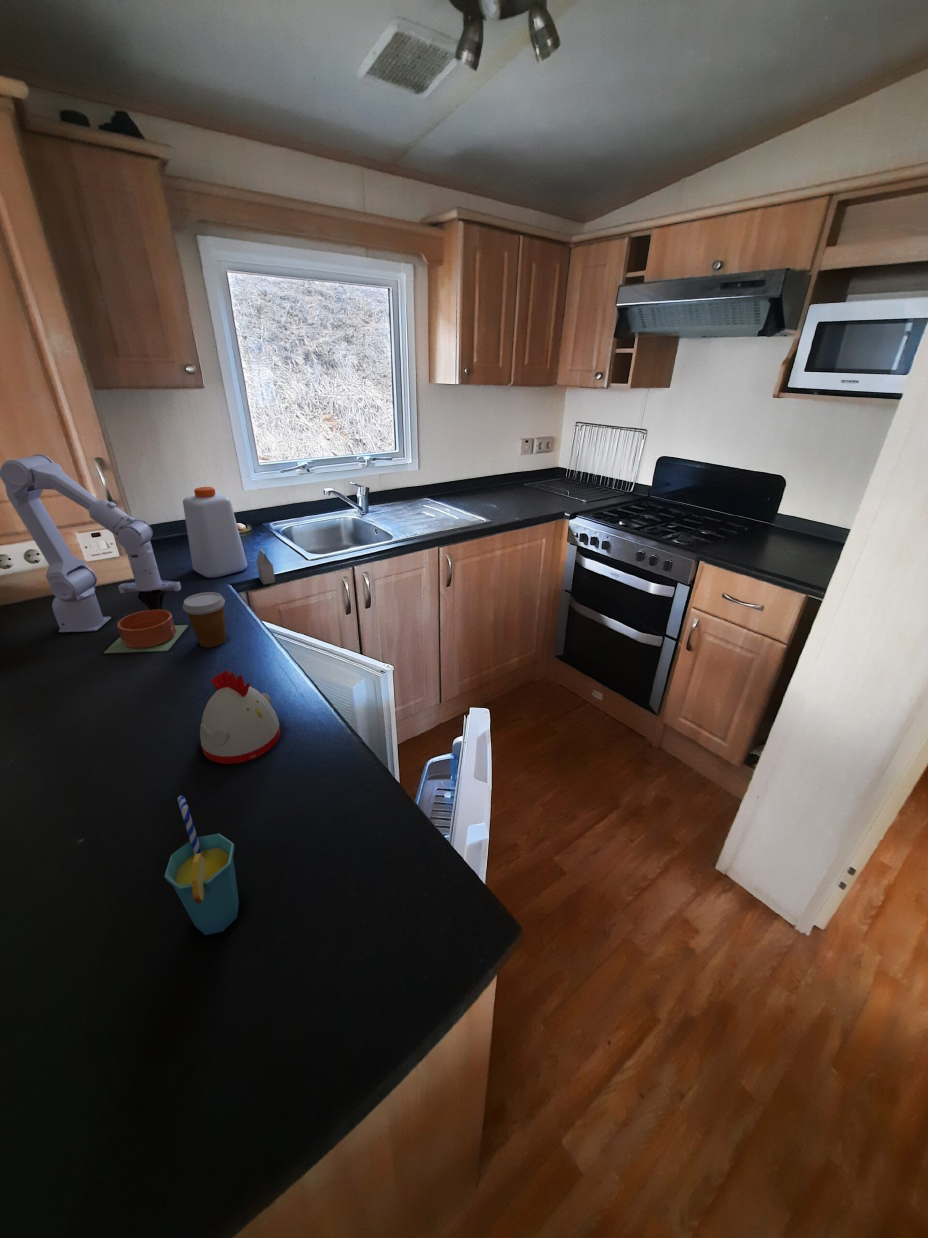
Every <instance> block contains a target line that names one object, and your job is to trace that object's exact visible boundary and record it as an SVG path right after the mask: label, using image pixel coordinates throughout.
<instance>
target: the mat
mask: <svg viewBox="0 0 928 1238" xmlns="http://www.w3.org/2000/svg"><path fill="white" fill-rule="evenodd" d="M174 625H175V629H176V634H175V635H174V636H173V637H172V638H171V639H169V640H168V641H166V642H164V643H161V644H159V645H156V646H152V647H146V648H133V647H127V646H126V645H124V644H123V643H122V640H121V636H119V637H118V638H117V639H116V640H115V641H114V642H113V643H112V644H111V645H110V646H109V647H108V648H107V649H106V650H104V652H103V654H118V653H119V654H120V653H121V654H123V653H144V652H168V651H169V650H170V649H171V648H172V647H173V646H174V645H175V643H176V641H178V639H180V637H181V636H182V634H184V632H185V631H186V630H187V629H188V627H189V624H178V625H176V624H174Z"/></svg>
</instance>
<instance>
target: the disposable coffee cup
mask: <svg viewBox="0 0 928 1238" xmlns="http://www.w3.org/2000/svg"><path fill="white" fill-rule="evenodd" d="M225 604H226V599H225V598H224V597H223V596H222V594H221V593H218V592H213V591H211V592H209V591H206V592H200V593H199V592H198V593H195V594H192V595H189V596H188V597H186V598H185V599H184V600H183V605H182V609H183V611H184V612H185V613H186V615H187V617H188V619H189V623H190V624H191V627H192V630H193V632H194V634H195V636H196V639H197V641H198V644H199V646H201V647H203V648H213V647H218V646H220V645H222V644H225V642H226V641H227V631H226V616H225Z"/></svg>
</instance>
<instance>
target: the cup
mask: <svg viewBox="0 0 928 1238" xmlns="http://www.w3.org/2000/svg"><path fill="white" fill-rule="evenodd" d="M177 803H178V808H179V811H180V813H181V816H182V819H183V822H184V827H185V829H186V832H187V835H188V839H189V840H188V842H186V843H185V844H184V845H182V846H181V847H179V849H177V850H176V851H174V852H173V853H172V854H171V855H170V857H169V861H168V864H167V867H166V869H165V873H164V876H163V877H164V879H165V880H166V882H168V883H169V884H170V885H171V886H172V887H173V888H174V889H173V890H174V891H175V892H176V894H177V896H178V898H179V899H180V901H181V903H182V905H183V907H184V908H185V910H186V912H187V914H188V917H189V918H190V919H191V922H192V923H193V925H194V927H195V929H197V930H199V931H200V932H201V933H202V934H203V935H205V936H208V935H212V934H218V933H221V932H222V933H223V932H224V931H225V930H226V929H227V928H228V927H229V926H230V925H231V924H232V923H234V921H235V920H236V919H237V918H238V914H239V913H238V912H239V906H240V900H239V891H238V885H237V877H236V869H235V862H234V854H235V844H234V842H232V841H231V840H229V839H228V838H226V837H225V836H223V835H222V834H220V833H214V834H208V835H204V836H198V835H197V831H196V828H195V825H194V822H193V819H192V816H191V815H192V814H191V813H190V808H189V806H188V803H187V800H186V797H185V796H184V795H179V796H178V797H177Z"/></svg>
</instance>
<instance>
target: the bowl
mask: <svg viewBox="0 0 928 1238" xmlns="http://www.w3.org/2000/svg"><path fill="white" fill-rule="evenodd" d="M116 624H117V625H116V626H117V630H118V633H119V637H121V640H122V643H123V644H124V645H126V646H127V647H133V648H146V647H152V646H156V645H159V644H161V643H164V642H166V641H168V640H169V639H171V638H172V637H173V636H174V635H175V634H176V629H175V625H176V624H175V621H174V619H173V615H172V612H170V611H168V610H166V609H162V610H160V609H155V610H149V609H146V610H140V611H136V612H134V613H130V614H128V615H126V616H123V617H122V618H121V619H120V620H118V622H116Z"/></svg>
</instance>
